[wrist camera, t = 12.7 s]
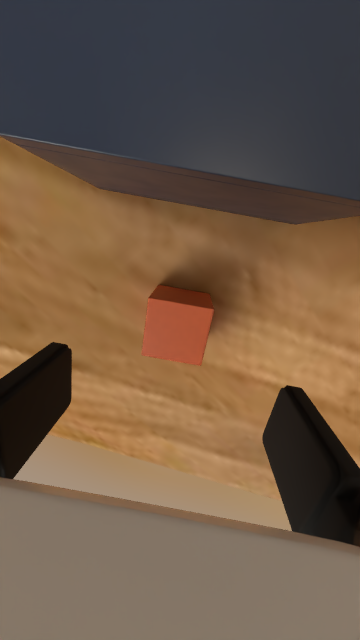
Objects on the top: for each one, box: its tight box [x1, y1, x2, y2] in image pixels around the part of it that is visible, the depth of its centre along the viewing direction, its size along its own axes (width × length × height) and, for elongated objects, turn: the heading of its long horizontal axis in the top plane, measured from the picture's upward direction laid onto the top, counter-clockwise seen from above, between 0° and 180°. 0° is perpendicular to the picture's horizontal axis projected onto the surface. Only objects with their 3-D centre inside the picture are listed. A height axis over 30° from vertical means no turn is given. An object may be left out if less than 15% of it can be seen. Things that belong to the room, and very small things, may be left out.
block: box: [142, 285, 214, 366], centre depth 17 cm, size 4×4×4 cm
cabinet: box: [0, 0, 360, 224], centre depth 10 cm, size 15×13×9 cm
